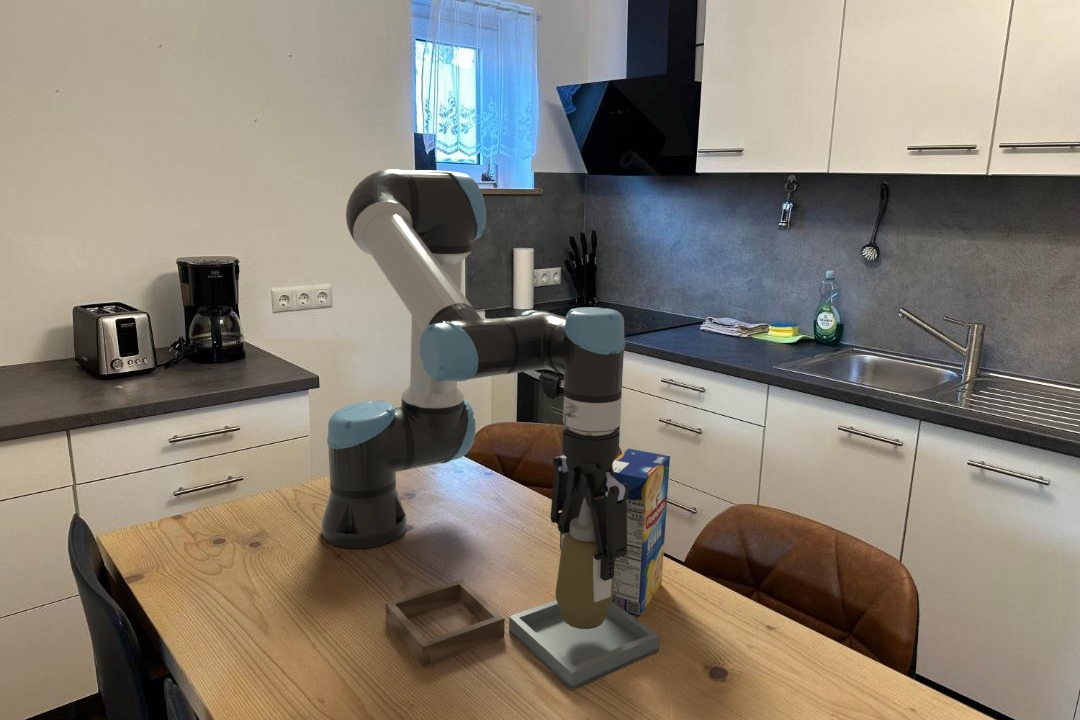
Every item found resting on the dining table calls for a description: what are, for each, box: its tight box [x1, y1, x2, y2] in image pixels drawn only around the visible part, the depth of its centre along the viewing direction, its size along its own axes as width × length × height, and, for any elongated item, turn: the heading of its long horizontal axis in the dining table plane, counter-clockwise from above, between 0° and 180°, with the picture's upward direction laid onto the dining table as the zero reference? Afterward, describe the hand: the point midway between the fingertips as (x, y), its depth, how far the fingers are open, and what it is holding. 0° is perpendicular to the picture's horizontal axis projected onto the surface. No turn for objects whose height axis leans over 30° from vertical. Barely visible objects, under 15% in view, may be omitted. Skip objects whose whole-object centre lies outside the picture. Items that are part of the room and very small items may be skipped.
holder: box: [385, 579, 506, 668], centre depth 105 cm, size 12×12×3 cm
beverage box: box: [600, 448, 671, 618], centre depth 113 cm, size 7×11×22 cm, turn 153°
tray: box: [508, 599, 661, 691], centre depth 103 cm, size 15×15×2 cm
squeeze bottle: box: [555, 497, 613, 629], centre depth 100 cm, size 8×8×18 cm
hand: (584, 586), depth 101 cm, fingers closed on squeeze bottle, 6 cm apart
